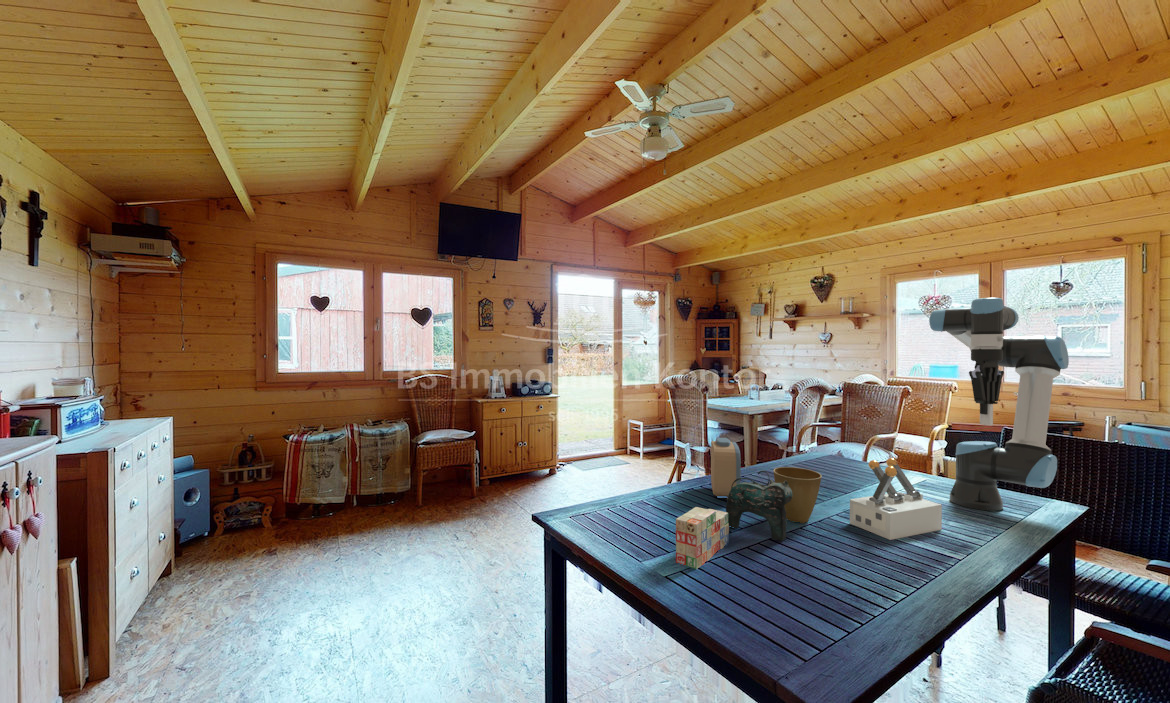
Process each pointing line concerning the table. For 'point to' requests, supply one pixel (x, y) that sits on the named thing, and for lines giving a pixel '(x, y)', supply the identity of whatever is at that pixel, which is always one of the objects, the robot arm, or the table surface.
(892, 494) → the lever middle
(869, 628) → the table surface
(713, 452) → the alarm clock
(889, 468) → the lever
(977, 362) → the robot arm
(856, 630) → the table surface
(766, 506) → the ceramic cat
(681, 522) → the stack of blocks
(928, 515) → the switch box
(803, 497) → the plant pot
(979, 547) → the table surface
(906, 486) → the lever
